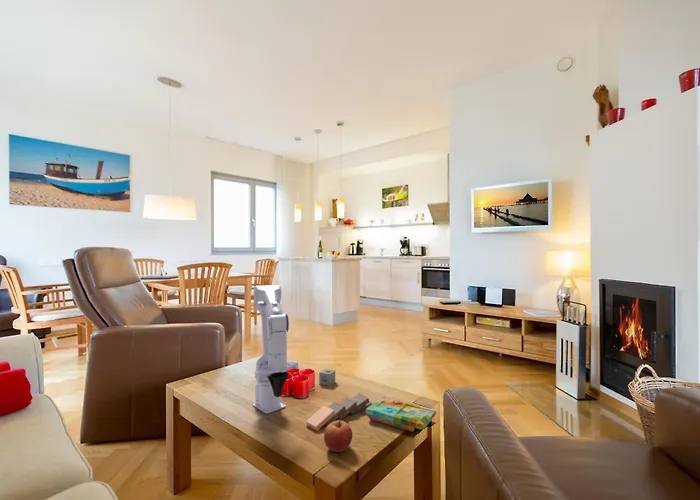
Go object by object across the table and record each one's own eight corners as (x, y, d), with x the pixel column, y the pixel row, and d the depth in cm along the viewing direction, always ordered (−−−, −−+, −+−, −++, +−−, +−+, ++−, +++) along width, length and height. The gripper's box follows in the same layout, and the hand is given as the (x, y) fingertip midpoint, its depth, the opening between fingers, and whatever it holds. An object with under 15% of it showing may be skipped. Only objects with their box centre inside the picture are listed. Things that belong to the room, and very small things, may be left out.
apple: (355, 442, 99) (355, 415, 99) (348, 458, 91) (348, 428, 91) (329, 439, 101) (329, 412, 101) (320, 454, 93) (320, 425, 93)
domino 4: (350, 410, 116) (368, 398, 121) (342, 404, 120) (359, 393, 125) (351, 414, 116) (369, 402, 121) (343, 408, 120) (360, 396, 125)
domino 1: (315, 426, 105) (333, 410, 111) (305, 421, 109) (323, 405, 114) (317, 431, 106) (335, 414, 111) (307, 425, 109) (325, 409, 114)
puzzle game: (381, 394, 123) (436, 407, 112) (381, 407, 123) (436, 421, 112) (365, 406, 113) (424, 422, 102) (365, 420, 113) (424, 438, 102)
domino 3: (339, 416, 112) (355, 401, 117) (329, 411, 116) (346, 397, 121) (340, 420, 112) (357, 405, 117) (330, 415, 116) (347, 401, 121)
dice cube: (329, 386, 141) (329, 374, 141) (319, 384, 144) (319, 372, 144) (335, 382, 146) (335, 370, 146) (325, 380, 148) (325, 368, 148)
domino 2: (327, 421, 109) (344, 405, 114) (317, 416, 112) (334, 401, 118) (328, 425, 109) (345, 410, 114) (318, 420, 112) (335, 405, 118)
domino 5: (356, 410, 118) (372, 403, 124) (346, 405, 122) (362, 399, 127) (356, 414, 118) (372, 407, 124) (346, 410, 121) (362, 403, 127)
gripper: (263, 360, 100) (263, 407, 100) (303, 350, 110) (303, 393, 110) (251, 355, 105) (251, 399, 105) (291, 346, 115) (291, 386, 115)
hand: (277, 395), depth 108 cm, fingers closed
